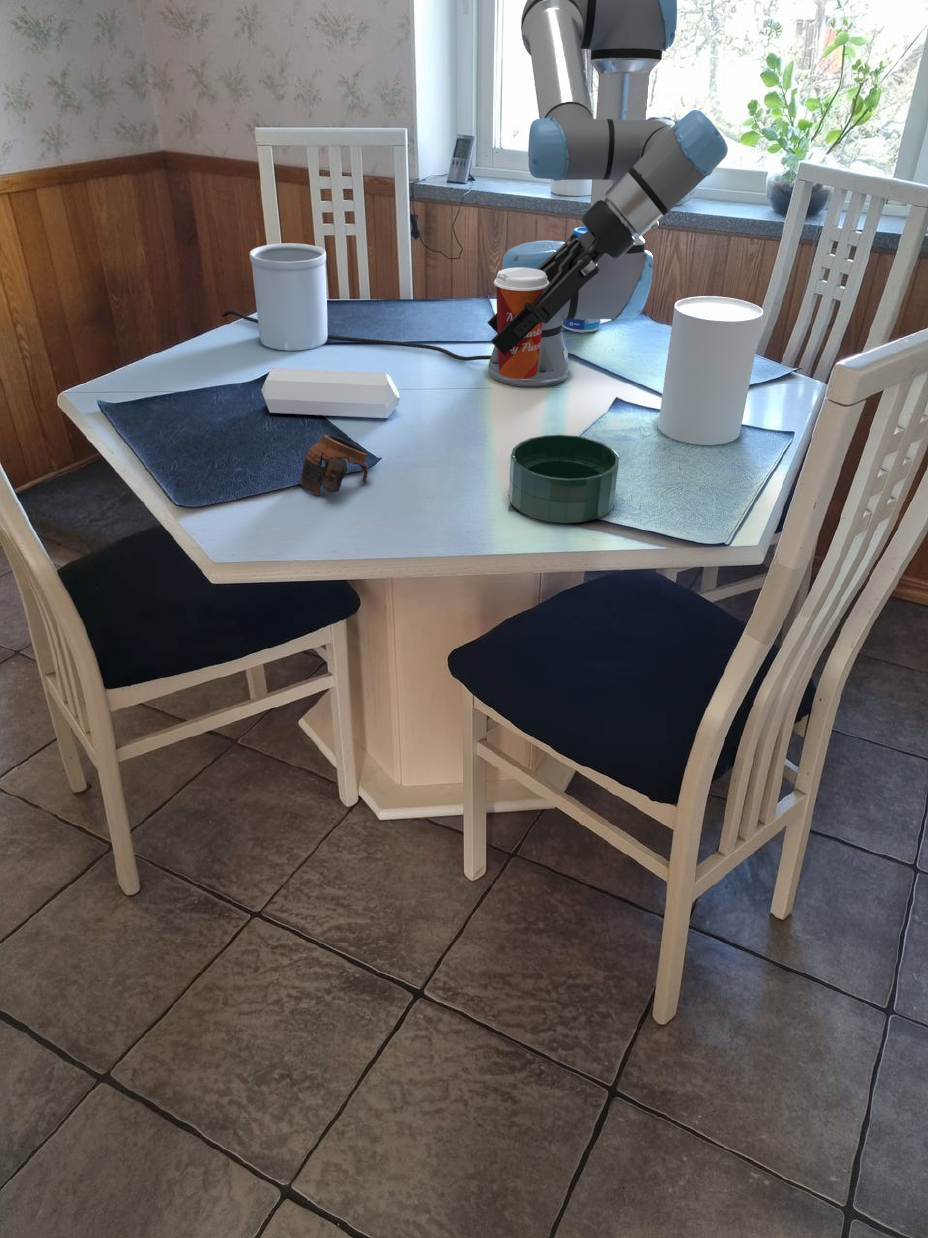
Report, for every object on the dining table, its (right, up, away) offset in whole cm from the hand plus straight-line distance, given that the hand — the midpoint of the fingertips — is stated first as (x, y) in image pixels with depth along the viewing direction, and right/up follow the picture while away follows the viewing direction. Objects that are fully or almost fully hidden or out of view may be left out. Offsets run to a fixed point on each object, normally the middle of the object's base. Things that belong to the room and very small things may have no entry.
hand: (496, 338), depth 133 cm
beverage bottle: (+21, +23, +69) cm, 76 cm away
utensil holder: (-39, +17, +59) cm, 73 cm away
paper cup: (+3, -4, +3) cm, 6 cm away
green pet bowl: (+9, -23, +1) cm, 25 cm away
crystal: (-28, -4, +28) cm, 40 cm away
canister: (+35, -8, +24) cm, 43 cm away
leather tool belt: (-24, -21, +4) cm, 32 cm away
